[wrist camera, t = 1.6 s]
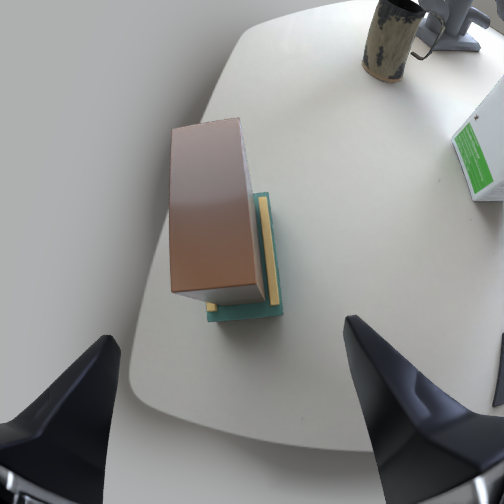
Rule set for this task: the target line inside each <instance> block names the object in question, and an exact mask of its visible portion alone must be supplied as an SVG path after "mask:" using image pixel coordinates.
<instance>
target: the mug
mask: <svg viewBox="0 0 504 504" xmlns="http://www.w3.org/2000/svg"><path fill="white" fill-rule="evenodd" d="M426 12H428V13H430V14H432V15H434V16H435V17H437V18H438V20H439V21H440V22H441V27H442V28H441V30H440V32H439V34H438V36H437V38H436V40H435V42H434V44H433V46H432V48H431V49H430V51H429V53H428V54H427V55H426V56H425V57H424V58H423V57H420V56H419V55H417V54H416V53H414V52H411V53H410V54H411V55H413V56H414V57H415V58H417V59H418V60H424V59H425V58H427V57H428V56H429V55H430V54H431V53H432V51H433V50H434V48H435V47H436V45H437V44H438V42H439V40H440V38H441V36H442V34H443V32H444V30H445V28H446V23H445V20H444V19H443V18H442V16H440V15H439V14H438V13H436V12H434V11H432V10H428V9H427V10H424V9H423V8H422V7H421V6H419V5H418V4H416V3H415V2H413V1H411V0H379V2H378V5H377V7H376V10H375V13H374V16H373V19H372V22H371V25H370V29H369V33H368V37H367V41H366V45H365V50H364V57H363V61H362V65H363V67H364V69H365V70H366V71H367V72H368V73H369V74H371V75H372V76H374V77H375V78H377V79H379V80H382V81H385V82H390V83H395V82H399V81H400V80H401V79H402V76H403V72H404V68H405V63H406V60H407V57H408V54H409V51H410V48H411V45H412V42H413V40H414V37H415V35H416V32H417V30H418V27H419V25H420V23H421V21H422V19H423V17H424V15H425V14H426Z"/></svg>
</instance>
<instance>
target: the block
mask: <svg viewBox="0 0 504 504" xmlns="http://www.w3.org/2000/svg"><path fill="white" fill-rule="evenodd" d="M171 136H172V137H171V154H170V182H169V247H170V275H171V292H172V293H175V294H179V295H182V296H186V297H190V298H193V299H197V300H201V301H204V302H208V303H212V304H216V305H220V306H231V305H241V304H251V303H261V302H265V292H264V282H263V273H262V264H261V255H260V246H259V237H258V228H257V219H256V210H255V203H254V197H253V191H252V185H251V179H250V174H249V168H248V162H247V156H246V151H245V145H244V139H243V134H242V128H241V123H240V118H231V119H224V120H218V121H212V122H206V123H200V124H195V125H190V126H185V127H180V128H175V129H172V135H171Z"/></svg>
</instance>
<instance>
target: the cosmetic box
mask: <svg viewBox="0 0 504 504" xmlns="http://www.w3.org/2000/svg"><path fill="white" fill-rule="evenodd" d="M451 140H452V143H453V145H454V147H455V149H456V152H457V155H458V158H459V160H460V163H461V166H462V168H463V171H464V174H465V177H466V180H467V183H468V186H469V189H470V193H471V196H472V199H473V201H504V75H503V76H502V78H501V79H500V80H499V81H498V83H497V84H496V85H495V87H494V88H493V89H492V90H491V92H490V93H489V94H488V95H487V96H486V98H485V99H484V100H483V101H482V102H481V104H480V105H479V106H478V107H477V108H476V110H475V111H474V112H473V113H472V114H471V116H470V117H469V118H468V119H467V120H466V121H465V122H464V124H463V125H462V126H461V127H460V128H459V129H458V131H457V132H456V133H455V134H454V135H453V136H452V137H451Z"/></svg>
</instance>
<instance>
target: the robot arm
mask: <svg viewBox="0 0 504 504" xmlns="http://www.w3.org/2000/svg"><path fill="white" fill-rule="evenodd" d="M343 337H344V342H345V347H346V352H347V357H348V362H349V367H350V372H351V376H352V379H353V382H354V386H355V389H356V392H357V395H358V398H359V402H360V405H361V408H362V412H363V415H364V419H365V422H366V426H367V429H368V433H369V436H370V440H371V444H372V447H373V451H374V455H375V459H376V462H377V466H378V471H379V475H380V479H381V483H382V487H383V491H384V496H385V500H386V504H504V417H498V416H489V415H481V414H477V413H474V412H472V411H470V410H468V409H467V408H465V407H464V406H463V405H461V404H460V403H458V402H457V401H456V400H454V399H453V398H452V397H450V396H449V395H447V394H446V393H445V392H443V391H442V390H441V389H440V388H438V387H437V386H436V385H434V384H433V383H432V382H431V381H430V380H429V379H428V378H426V377H425V376H424V375H423V374H422V373H421V372H420V371H418V370H417V369H416V368H415V367H414V366H413V365H412V364H411V363H410V362H409V361H408V360H407V359H405V358H404V357H403V356H402V355H401V354H400V353H399V352H398V351H397V350H395V349H394V348H393V347H392V346H391V345H390V344H389V343H388V342H387V341H385V340H384V339H383V338H382V337H381V336H380V335H379V334H378V333H377V332H375V331H374V330H373V329H372V328H371V327H370V326H369V325H368V324H366V323H365V322H364V321H363V320H362V319H361V318H360V317H359V316H357V315H352V316H347V317H346V318H345V323H344V330H343ZM120 357H121V350H120V347H119V346H118V344H117V343H116V341H115V339H114V338H113V336H111V335H103V336H101V337H100V338H99V339H98V340H97V341H96V342H95V343H94V344H93V345H91V346H90V347H89V348H88V349H87V350H86V351H85V352H84V353H83V354H82V355H81V356H80V357H79V358H78V359H77V360H76V361H75V362H74V363H73V364H72V365H71V366H70V367H69V368H68V369H66V370H65V371H64V372H63V373H62V374H61V376H59V377H58V378H57V379H56V380H55V381H54V382H53V383H52V384H51V385H50V386H49V388H47V389H46V390H45V391H44V392H43V393H42V394H41V395H40V396H39V397H38V398H37V399H36V400H35V401H34V402H33V403H32V404H30V405H29V406H28V407H27V408H26V409H25V410H24V411H22V412H21V413H20V414H19V415H18V416H17V417H15V418H14V419H13V420H11V421H9V422H7V423H2V424H0V504H103V489H104V477H105V465H106V455H107V447H108V440H109V433H110V426H111V419H112V414H113V407H114V402H115V397H116V391H117V384H118V377H119V366H120Z"/></svg>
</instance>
